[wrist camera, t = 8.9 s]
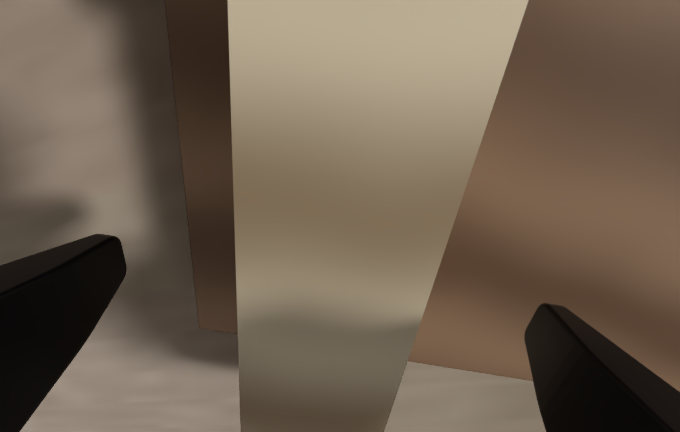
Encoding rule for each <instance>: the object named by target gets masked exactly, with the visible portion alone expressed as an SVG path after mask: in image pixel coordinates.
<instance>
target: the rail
mask: <svg viewBox="0 0 680 432" xmlns="http://www.w3.org/2000/svg"><path fill="white" fill-rule="evenodd" d="M528 1H529V0H228V32H229V65H230V97H231V130H232V162H233V195H234V227H235V260H236V292H237V325H238V357H239V390H240V423H241V432H384V430H385V427H386V424H387V421H388V418H389V415H390V412H391V409H392V406H393V403H394V400H395V397H396V394H397V391H398V388H399V385H400V382H401V379H402V376H403V373H404V370H405V367H406V364H407V361H408V358H409V355H410V352H411V349H412V346H413V343H414V340H415V337H416V334H417V331H418V328H419V326H420V323H421V320H422V317H423V314H424V311H425V308H426V305H427V302H428V299H429V296H430V293H431V290H432V287H433V284H434V281H435V278H436V275H437V272H438V269H439V266H440V263H441V260H442V257H443V254H444V251H445V248H446V245H447V242H448V239H449V236H450V233H451V230H452V227H453V224H454V221H455V218H456V215H457V212H458V209H459V206H460V203H461V200H462V197H463V194H464V191H465V188H466V185H467V182H468V179H469V177H470V174H471V171H472V168H473V165H474V162H475V159H476V156H477V153H478V150H479V147H480V144H481V141H482V138H483V135H484V132H485V129H486V126H487V123H488V120H489V117H490V114H491V111H492V108H493V105H494V102H495V99H496V96H497V93H498V90H499V87H500V84H501V81H502V78H503V75H504V72H505V69H506V66H507V63H508V60H509V57H510V54H511V51H512V48H513V45H514V42H515V39H516V36H517V33H518V30H519V27H520V25H521V22H522V19H523V16H524V13H525V10H526V7H527V4H528Z"/></svg>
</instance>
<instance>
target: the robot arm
mask: <svg viewBox="0 0 680 432" xmlns="http://www.w3.org/2000/svg"><path fill="white" fill-rule="evenodd" d="M125 275H126V262H125V258H124V254H123V249H122V245H121V241H120V240H119V238H117V237H115V236H110V235H104V234H94V235H91V236H88V237H85V238H82V239H79V240H76V241H73V242H70V243H67V244H64V245H61V246H58V247H55V248H52V249H49V250H46V251H43V252H40V253H37V254H34V255H31V256H28V257H25V258H22V259H19V260H16V261H13V262H10V263H7V264H4V265H1V266H0V432H20V430H21V429H22V428H23V426H24V425H25V424H26V422H27V421H28V420H29V418H30V417H31V415H32V414H33V413H34V411H35V410H36V409H37V407H38V406H39V405H40V403H41V402H42V401H43V399H44V398H45V397H46V395H47V394H48V393H49V391H50V390H51V388H52V387H53V386H54V384H55V383H56V382H57V380H58V379H59V378H60V376H61V375H62V374H63V372H64V371H65V370H66V368H67V367H68V365H69V364H70V363H71V361H72V360H73V359H74V357H75V356H76V355H77V353H78V352H79V351H80V349H81V348H82V346H83V345H84V343H85V342H86V341H87V339H88V337H89V336H90V334H91V333H92V331H93V330H94V328H95V326H96V325H97V323H98V321H99V320H100V318H101V316H102V315H103V313H104V311H105V310H106V308H107V306H108V304H109V303H110V301H111V299H112V298H113V296H114V294H115V293H116V291H117V289H118V288H119V286H120V284H121V283H122V281H123V279H124V277H125ZM524 340H525V345H526V350H527V355H528V359H529V364H530V368H531V373H532V378H533V382H534V387H535V392H536V396H537V401H538V405H539V409H540V413H541V416H542V419H543V423H544V426H545V429H546V432H680V392H679V391H678V390H676V389H675V388H674V387H672V386H671V385H670V384H668V383H667V382H666V381H664V380H663V379H662V378H660V377H659V376H658V375H656V374H655V373H654V372H652V371H651V370H649V369H648V368H647V367H645V366H644V365H643V364H641V363H640V362H639V361H637V360H636V359H635V358H633V357H632V356H631V355H629V354H628V353H627V352H625V351H624V350H623V349H621V348H620V347H618V346H617V345H616V344H614V343H613V342H612V341H610V340H609V339H608V338H606V337H605V336H604V335H602V334H601V333H600V332H598V331H597V330H596V329H594V328H593V327H592V326H590V325H589V324H587V323H586V322H585V321H583V320H582V319H581V318H579V317H578V316H577V315H575V314H574V313H573V312H571V311H570V310H569V309H567V308H566V307H564V306H561V305H556V304H549V303H543V304H541V305H539V307H538V308H537V310H536V312H535V313H534V315H533V317H532V319H531V321H530V322H529V324H528V326H527V328H526V330H525V335H524Z"/></svg>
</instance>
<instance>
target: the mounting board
mask: <svg viewBox="0 0 680 432" xmlns="http://www.w3.org/2000/svg"><path fill="white" fill-rule="evenodd" d="M165 8H166V18H167V27H168V37H169V46H170V56H171V65H172V75H173V84H174V94H175V103H176V113H177V122H178V132H179V141H180V151H181V160H182V169H183V179H184V188H185V198H186V207H187V217H188V226H189V236H190V245H191V255H192V264H193V274H194V283H195V293H196V302H197V312H198V321H199V328H202V329H209V330H215V331H221V332H227V333H234V334H238V325H237V292H236V260H235V227H234V195H233V162H232V130H231V97H230V65H229V32H228V0H165ZM543 303H549V304H556V305H561V306H564V307H566V308H567V309H569V310H570V311H571V312H573V313H574V314H575V315H577V316H578V317H579V318H581V319H582V320H583V321H585V322H586V323H587V324H589V325H590V326H592V327H593V328H594V329H596V330H597V331H598V332H600V333H601V334H602V335H604V336H605V337H606V338H608V339H609V340H610V341H612V342H613V343H614V344H616V345H617V346H618V347H620V348H621V349H623V350H624V351H625V352H627V353H628V354H629V355H631V356H632V357H633V358H635V359H636V360H637V361H639V362H640V363H641V364H643V365H644V366H645V367H647V368H648V369H649V370H651V371H652V372H654V373H655V374H656V375H658V376H659V377H660V378H662V379H663V380H664V381H666V382H667V383H668V384H670V385H671V386H672V387H674V388H675V389H676V390H678V391H679V392H680V0H529V1H528V4H527V7H526V10H525V13H524V16H523V19H522V22H521V25H520V27H519V30H518V33H517V36H516V39H515V42H514V45H513V48H512V51H511V54H510V57H509V60H508V63H507V66H506V69H505V72H504V75H503V78H502V81H501V84H500V87H499V90H498V93H497V96H496V99H495V102H494V105H493V108H492V111H491V114H490V117H489V120H488V123H487V126H486V129H485V132H484V135H483V138H482V141H481V144H480V147H479V150H478V153H477V156H476V159H475V162H474V165H473V168H472V171H471V174H470V177H469V179H468V182H467V185H466V188H465V191H464V194H463V197H462V200H461V203H460V206H459V209H458V212H457V215H456V218H455V221H454V224H453V227H452V230H451V233H450V236H449V239H448V242H447V245H446V248H445V251H444V254H443V257H442V260H441V263H440V266H439V269H438V272H437V275H436V278H435V281H434V284H433V287H432V290H431V293H430V296H429V299H428V302H427V305H426V308H425V311H424V314H423V317H422V320H421V323H420V326H419V328H418V331H417V334H416V337H415V340H414V343H413V346H412V349H411V352H410V355H409V358H408V361H410V362H417V363H423V364H429V365H436V366H442V367H448V368H454V369H461V370H467V371H473V372H480V373H486V374H492V375H499V376H505V377H511V378H518V379H524V380H530V381H533V378H532V373H531V368H530V364H529V359H528V355H527V350H526V345H525V340H524V335H525V330H526V328H527V326H528V324H529V322H530V321H531V319H532V317H533V315H534V313H535V312H536V310H537V308H538V307H539V305H541V304H543Z"/></svg>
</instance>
